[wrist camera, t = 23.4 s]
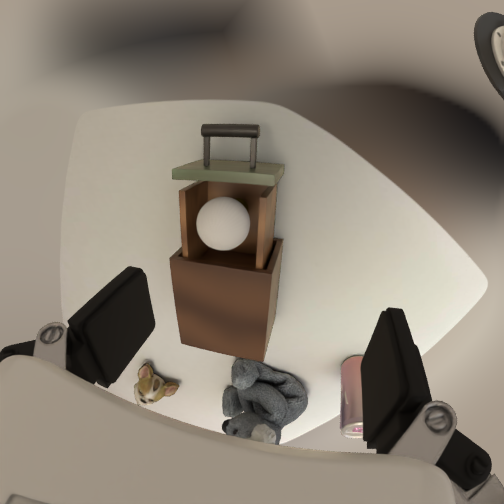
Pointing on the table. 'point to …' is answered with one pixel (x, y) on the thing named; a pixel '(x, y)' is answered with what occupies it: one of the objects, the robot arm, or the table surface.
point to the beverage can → (351, 398)
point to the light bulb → (223, 223)
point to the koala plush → (261, 402)
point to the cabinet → (226, 304)
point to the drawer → (234, 186)
